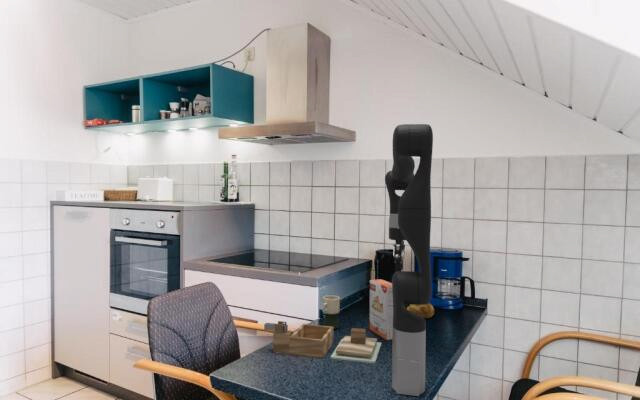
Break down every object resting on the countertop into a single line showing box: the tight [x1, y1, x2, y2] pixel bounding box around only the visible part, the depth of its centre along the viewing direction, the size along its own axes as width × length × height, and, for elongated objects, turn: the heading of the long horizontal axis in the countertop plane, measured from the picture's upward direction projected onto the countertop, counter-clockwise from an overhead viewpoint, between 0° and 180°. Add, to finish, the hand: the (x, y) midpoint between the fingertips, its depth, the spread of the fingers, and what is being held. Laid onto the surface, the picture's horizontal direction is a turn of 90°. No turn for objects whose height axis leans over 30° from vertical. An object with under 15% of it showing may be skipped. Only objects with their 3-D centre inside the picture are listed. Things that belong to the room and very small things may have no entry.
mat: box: [330, 338, 382, 364], centre depth 148 cm, size 19×15×1 cm
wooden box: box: [272, 320, 335, 359], centre depth 150 cm, size 16×18×10 cm
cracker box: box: [369, 278, 393, 341], centre depth 166 cm, size 14×6×21 cm, turn 21°
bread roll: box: [406, 302, 435, 319], centre depth 194 cm, size 13×10×8 cm
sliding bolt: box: [263, 321, 289, 332], centre depth 147 cm, size 2×8×3 cm, turn 75°
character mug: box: [322, 294, 341, 330], centre depth 174 cm, size 11×7×13 cm, turn 142°
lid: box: [335, 327, 378, 358], centre depth 148 cm, size 16×12×6 cm
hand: (399, 271), depth 149 cm, fingers open, 8 cm apart
